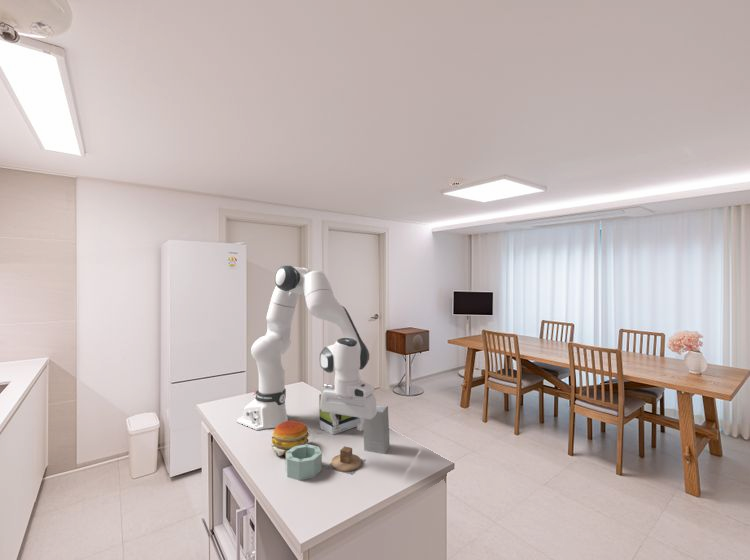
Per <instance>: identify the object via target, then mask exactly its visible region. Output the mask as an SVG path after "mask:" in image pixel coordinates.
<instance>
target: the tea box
mask: <svg viewBox="0 0 750 560" xmlns="http://www.w3.org/2000/svg"><path fill="white" fill-rule="evenodd" d="M318 398H319V400H318V401H319V404H318V405H319V407H320V401H321V393H320V394H319V397H318ZM335 416H336V419H337V420H339V425H338V426H333V421H332V419H331V418H330V413H327V412H322V411H321V409H320V408H319V428H320V429H321V430H322V431H325V432H327V433H329V434H330V435H332V436H333V435H336V434H340V433H343V432H345V431H348V430H350V429H353V428H357V425H358V424H359V423H361V422H362V421H360V418H358V417H352V416H346V415H340V414H335Z"/></svg>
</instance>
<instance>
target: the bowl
mask: <svg viewBox="0 0 750 560" xmlns="http://www.w3.org/2000/svg"><path fill="white" fill-rule="evenodd" d="M322 455H323V452H322V450H321V448H320V446H318V445H317V446H316V445H313V444H309V443H307V444H305V445H299V446H294V447H293V448H291V449H290V450H288V451H287V452H286V455H285V472H286V477H287V478H289V479H293V480H297V481H303V480H308V479H312V478H315V477H316V476H317V475H319V473H320V472H321V471H322V470H323V467H322V466H323V464H322V463H323V462H322V461H323V456H322Z"/></svg>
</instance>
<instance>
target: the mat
mask: <svg viewBox="0 0 750 560" xmlns="http://www.w3.org/2000/svg"><path fill="white" fill-rule="evenodd" d="M360 459H361V465H360V467H361V466H362V465H363V464H364V463H365V462H366V461H367V460H366V459H364V458H360ZM325 469H329V470H333V471H336V472H340V471H337V470H335V469H333V468H332V466H331V463H329V464H328V465H327V466H325ZM357 471H358V469H356V470H354V471H350V472H342V473H344V474H347V475H352V476H353V475H354V474H355V473H356V472H357ZM340 473H341V472H340Z"/></svg>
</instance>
